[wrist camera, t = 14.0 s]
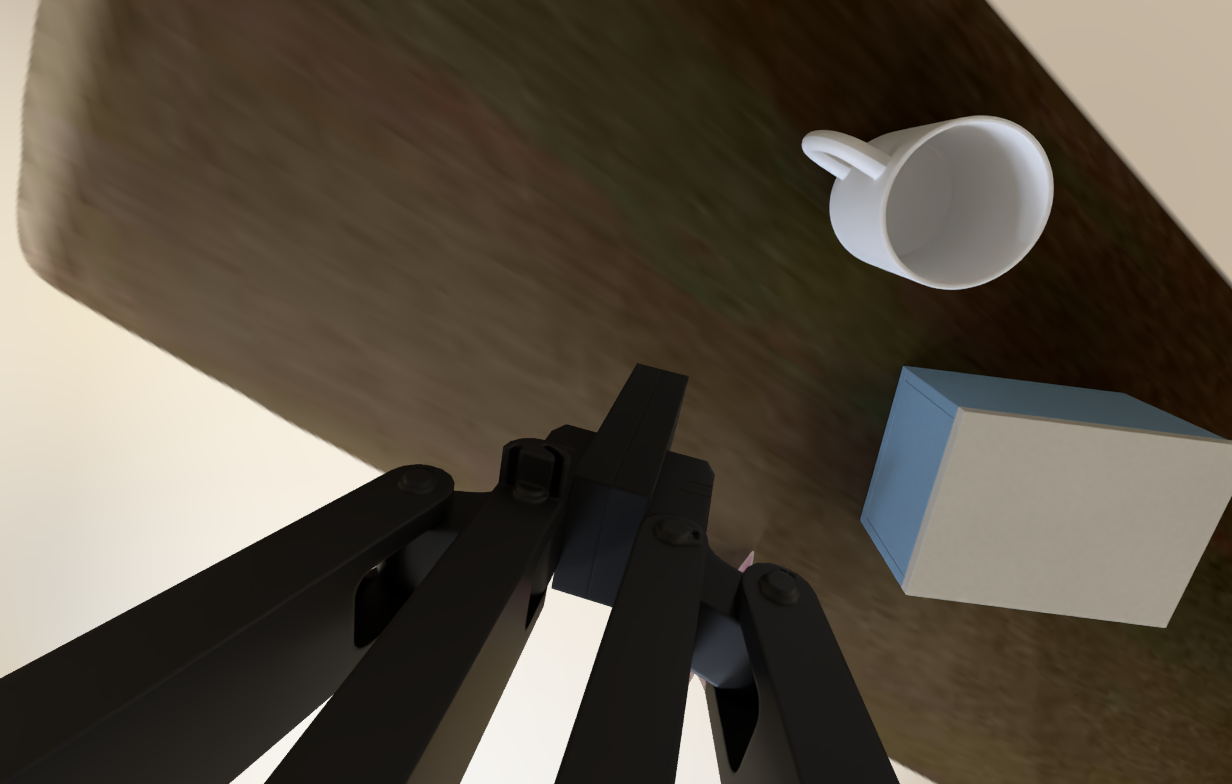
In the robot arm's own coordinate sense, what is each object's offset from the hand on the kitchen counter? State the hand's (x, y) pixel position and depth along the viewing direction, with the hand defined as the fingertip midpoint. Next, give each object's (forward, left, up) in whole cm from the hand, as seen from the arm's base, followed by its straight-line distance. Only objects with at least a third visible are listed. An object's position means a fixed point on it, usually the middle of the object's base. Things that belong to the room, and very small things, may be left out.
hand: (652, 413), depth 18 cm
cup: (-14, +6, -27) cm, 31 cm away
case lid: (-7, +28, -18) cm, 34 cm away
